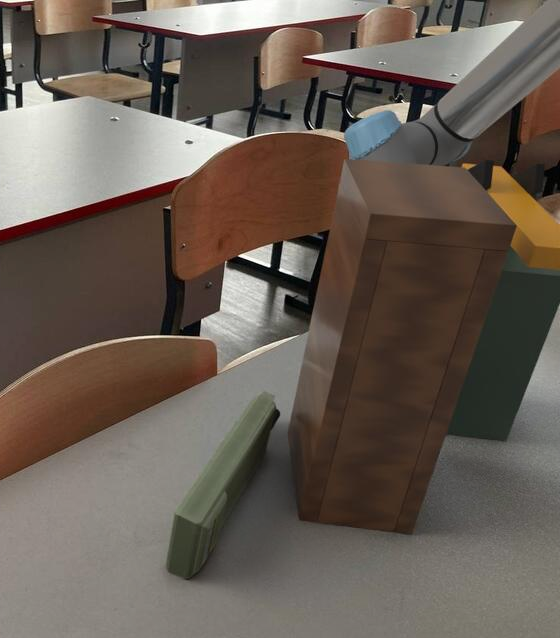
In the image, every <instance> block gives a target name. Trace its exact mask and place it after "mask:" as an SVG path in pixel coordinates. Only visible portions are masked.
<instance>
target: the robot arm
mask: <svg viewBox="0 0 560 638" xmlns="http://www.w3.org/2000/svg"><path fill="white" fill-rule="evenodd" d="M558 70H560V0H545V1H544V2H543V3H542V4H541V5H540V6H539V7H538V8H537V9H536V10H535V11H534V12H533V13H532V14H531V15H529V16H528V17H527V18H526V19H525V20H524V21H523V22H522V23H520V25H519V26H517V28H515V29H514V31H512V32H511V33H510V34H508V36H506V37H505V39H504V40H503V41H502V42H500V43H499V44H498V45H497V46H496V47H495V48H493V50H492V51H491V52H490V53H489V54H488V55H486V56H485V57H484V58H483V59H482V60H481V61H480V62H479V63H478V64H477V65H476V66H475V67H473V68H472V70H471V71H469V72H468V73H467V74H466V75H465V76H464V77H463V78H462V79H461V80H460V81H458V83H456V84H455V85H454V86H453V87H452V88H450V90H449V91H448V92H447V93H446V94H444V96H443V97H441V98H440V99H439V100H438V102H437V103H436V104H434V105H433V106H432V107H431V108H430V109H428V111H427V112H426V113H425V114H423V115H422V116H421V117H420V118H418V119H416V120H411V121H407V122H403V123H402V121H401V120H399V118H398V116H397V115H396V113H395V112H394V111H392V110H390V109H385V110H381V111H378V112H376V113H373V114H370V115H369V116H366V117H364V118H362V119H360V120H357V122H354V123H353V124H351V125H349V126H348V127H347V128H346V130H345V131H344V134H343V139H344V141H345V145H346V147H347V150H348V153H349V159H356V160H369V161H383V162H396V163H410V164H424V165H437V166H449V165H450V164H452V163H454V162H455V161H457V160H460V159H461V158H463V157H465V155H466V154H467V153H468V152H469V150H470V148H471V146H472V143H473V141H475V139H476V138H478V137H479V136H480V135H481V134H483V133H484V132H485V131H486V130H487V129H488V128H489V127H491V126H492V125H493V124H494V123H495V122H497V121H499V119H501V118H502V117H503V116H504V115H505V114H506V113H508V112H509V111H510V110H511V109H512V108H514V107H515V106H516V105H517V104H518V103H519V102H521V101H522V100H523V99H524V98H525V97H527V96H529V94H531V93H532V92H533V91H534V90H535V89H536V88H538V87H539V86H540V85H541V84H542V83H544V82H545V81H546V80H547V79H549V77H551V76H553V74H554V73H556V72H557V71H558ZM494 164H495V160H491V159H485V160H482V161H481V162H479V163H476V165H475V166H473V167H471V168H470V169H468V171H469V172H470V174H471V175H472V176H473V177H474V178H475V179H476V180H477V181H478V182H479V184H480V185H481V186H482V187H483V188H484V189H485V190H488V189H490V188H491V183H492V174H493V166H495V165H494ZM545 169H546V164H543V163H535V164H533V165H531V166H529V167H527V168H524V169H522V170H520V171H517V172H516V171H515V172H512V174H509V175H510V176H511V177H512V178H513V179H514V180H515V181H516V182H517V183H518V184H519V185H520V186H521V187H522V188H523V189H524V190H525V191H526V192H527V193H528V194H529V195H530V196H531V197H532V198H533V199H534V200H535V201H536V202H537V203H538V195H539V194H542V193H543V187H544V178H545Z"/></svg>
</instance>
